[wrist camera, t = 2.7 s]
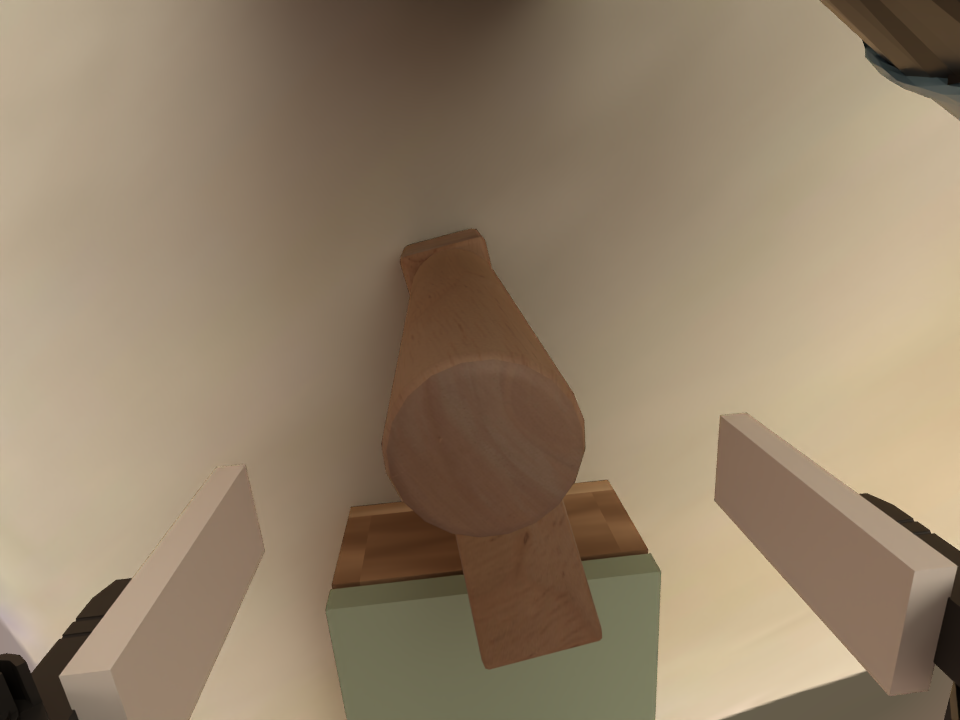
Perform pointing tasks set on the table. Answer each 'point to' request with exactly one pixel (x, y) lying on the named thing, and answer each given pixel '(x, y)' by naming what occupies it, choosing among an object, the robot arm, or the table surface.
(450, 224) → the table surface
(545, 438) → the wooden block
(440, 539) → the wooden box
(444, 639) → the lid
